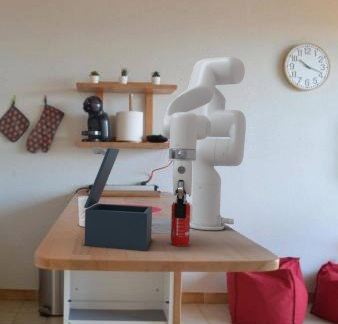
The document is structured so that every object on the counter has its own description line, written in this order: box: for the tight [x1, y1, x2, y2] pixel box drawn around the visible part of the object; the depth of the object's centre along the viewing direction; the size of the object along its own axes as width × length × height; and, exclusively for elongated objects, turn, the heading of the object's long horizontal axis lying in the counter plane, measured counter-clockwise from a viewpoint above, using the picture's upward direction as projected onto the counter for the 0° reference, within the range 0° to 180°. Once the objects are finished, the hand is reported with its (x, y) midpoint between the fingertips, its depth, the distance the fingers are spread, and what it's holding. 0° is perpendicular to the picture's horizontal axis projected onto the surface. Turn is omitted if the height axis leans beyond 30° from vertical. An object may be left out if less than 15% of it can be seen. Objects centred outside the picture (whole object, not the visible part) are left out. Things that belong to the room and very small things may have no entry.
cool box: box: [83, 203, 153, 252], centre depth 112 cm, size 17×14×10 cm
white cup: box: [77, 195, 101, 228], centre depth 137 cm, size 8×8×10 cm
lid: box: [84, 146, 121, 208], centre depth 114 cm, size 18×14×6 cm
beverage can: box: [170, 201, 191, 247], centre depth 112 cm, size 5×5×12 cm
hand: (180, 215), depth 111 cm, fingers open, 9 cm apart
